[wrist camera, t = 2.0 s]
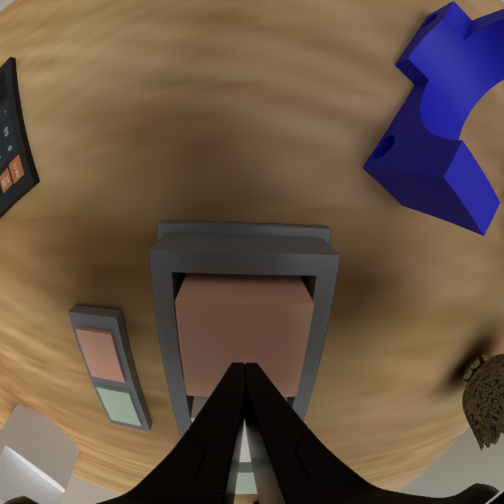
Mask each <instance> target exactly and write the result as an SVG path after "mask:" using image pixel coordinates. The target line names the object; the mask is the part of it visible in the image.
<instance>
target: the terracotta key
mask: <svg viewBox="0 0 504 504" xmlns="http://www.w3.org/2000/svg"><path fill="white" fill-rule="evenodd" d="M175 308H176V318H177V328H178V337H179V345H180V353H181V360H182V368H183V375H184V381H185V387H186V394H187V395H189V396H202V397H210V395H211V394H212V392H213V391H214V389H215V388H216V386H217V384H218V383H219V381H220V380H221V378H222V377H223V375H224V374H225V372H226V370H227V369H228V367H229V366H230V364H231V363H232V362H243V363H244V365H245V363H246V362H256V363H258V364H259V365H260V367H261V368H262V369H263V371H264V372H265V373H266V375H267V376H268V377H269V379H270V380H271V381H272V383H273V384H274V385H275V387H276V388H277V389H278V390H279V392H280V393H281V394H282V396H283V397H294V396H297V391H298V387H299V382H300V378H301V373H302V368H303V363H304V358H305V353H306V348H307V343H308V337H309V332H310V326H311V320H312V314H313V308H314V302H313V300H312V298H311V296H310V295H309V293H308V291H307V289H306V287H305V285H304V283H303V281H302V279H301V277H300V275H249V274H212V273H187V275H186V277H185V279H184V281H183V284H182V286H181V288H180V290H179V293H178V295H177V297H176V300H175Z"/></svg>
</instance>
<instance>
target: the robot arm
mask: <svg viewBox="0 0 504 504" xmlns="http://www.w3.org/2000/svg"><path fill="white" fill-rule="evenodd" d="M244 418H245V429H246V435H247V440H248V446H249V452H250V457H251V462H252V468H253V473H254V478H255V484H256V489H257V494H258V499H259V501H258V502H255V503H253V504H485V503H486V502H488V501H489V500H490V499H491V498H493V497H494V496H495V495H496V494H497V493H498V492H499V490H497V489H496V488H495V487H493V486H490V485H485V484H479V483H476V484H474V485H472V486H470V487H469V488H467V489H466V490H464V491H462V492H461V493H459V494H457V495H455V496H451V497H445V498H433V497H425V496H417V495H410V494H405V493H399V492H394V491H389V490H385V489H381V488H378V487H376V486H374V485H372V484H370V483H369V482H367V481H366V480H364V479H363V478H362V477H360V476H359V475H358V474H357V473H355V472H354V471H353V470H352V469H350V468H349V467H348V466H347V465H346V464H344V463H343V462H342V461H341V460H340V459H338V458H337V457H336V456H335V455H334V454H333V453H332V452H331V451H329V450H328V449H327V448H326V447H325V446H324V445H323V444H322V442H321V441H320V440H319V439H318V438H317V437H316V436H315V435H314V434H313V432H312V431H311V430H310V429H308V426H307V425H306V424H305V423H304V422H303V420H302V419H301V418H300V417H299V416H298V414H297V413H296V412H295V411H294V409H293V408H292V407H291V406H290V404H289V403H288V402H287V401H286V399H285V398H284V397H283V396H282V394H281V393H280V392H279V390H278V389H277V388H276V387H275V385H274V384H273V383H272V381H271V380H270V379H269V377H268V376H267V375H266V373H265V372H264V371H263V369H262V368H261V367H260V365H259V364H258V363H256V362H246V363H245V365H244V363H243V362H232V363H231V364H230V366H229V367H228V369H227V370H226V372H225V374H224V375H223V377H222V378H221V380H220V381H219V383H218V384H217V386H216V388H215V389H214V391H213V392H212V394H211V395H210V397H209V398H208V400H207V401H206V403H205V404H204V406H203V407H202V409H201V410H200V412H199V413H198V415H197V416H196V418H195V419H194V421H193V422H192V424H191V425H190V426H189V428H188V429H189V430H187V431H186V432H185V434H184V435H183V436H182V438H181V439H180V440H179V442H178V443H177V444H176V446H175V447H174V448H173V450H172V451H171V452H170V453H169V454H168V455H167V456H166V457H165V458H164V459H163V460H162V461H161V462H160V463H159V464H158V465H157V466H156V467H155V468H154V469H153V470H152V471H151V472H150V473H149V474H148V475H147V476H146V477H145V478H144V479H143V480H142V481H141V482H140V483H139V484H138V485H137V486H135V487H134V488H133V489H132V490H130V491H129V492H127V493H125V494H123V495H121V496H119V497H116V498H113V499H110V500H107V501H103V502H100V503H97V504H234V497H235V489H236V482H237V475H238V468H239V460H240V453H241V445H242V438H243V430H244ZM4 504H39V503H37V502H35V501H33V500H32V499H30V498H28V497H26V496H20V497H16V498H13V499H10V500H8V501H6V502H5V503H4ZM489 504H504V492H503V493H502V494H500V495H499V496H498V497H497V498H495V499H494V500H493V501H491V502H490V503H489Z"/></svg>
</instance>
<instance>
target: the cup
mask: <svg viewBox="0 0 504 504" xmlns="http://www.w3.org/2000/svg"><path fill="white" fill-rule="evenodd" d="M460 382H461V385H462V386H464V387H465V390H464V393H463V398H462V405H463V410H464V413H465V416H466V418H467V420H468V423H469V425H470V427H471V429H472V431H473V433H474V435H475V437H476V439H477V442H478V444H479V446H480V449H481V450H482V448H484V444H485V445H486V446H487V447H490V443H491V444H496V443H497V442H498V439H499V437H500V433H501V432H502V433H504V354H499V355H496V356H493V357H491V358H490V355H489V354H488V353H486V352H479V353H477V354H475V355H474V356H473V357H472V358H470V360H469V361H468V362H467V363H466V364H465V366H464V367H463V369H462V371H461V374H460Z"/></svg>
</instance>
